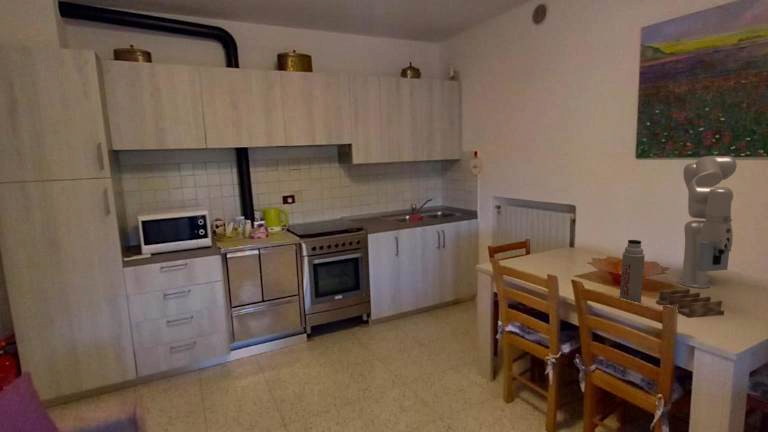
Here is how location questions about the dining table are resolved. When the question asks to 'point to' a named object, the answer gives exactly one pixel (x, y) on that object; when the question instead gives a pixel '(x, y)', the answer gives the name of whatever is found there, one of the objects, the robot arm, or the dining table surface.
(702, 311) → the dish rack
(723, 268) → the grey square block
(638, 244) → the thermos bottle
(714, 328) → the dining table surface
